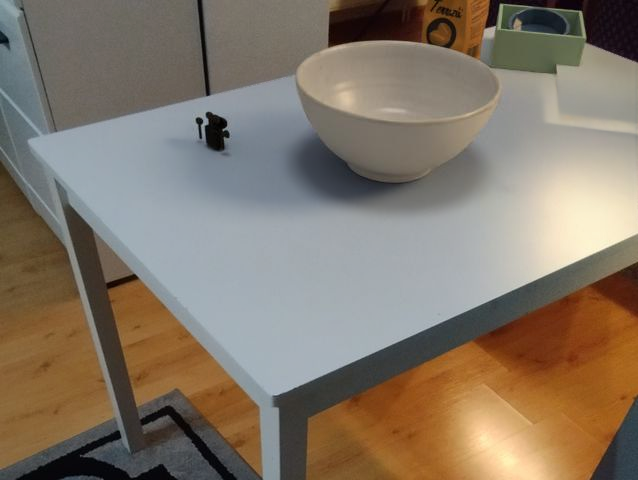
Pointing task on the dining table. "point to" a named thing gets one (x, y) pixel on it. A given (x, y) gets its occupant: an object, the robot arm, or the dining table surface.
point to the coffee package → (456, 25)
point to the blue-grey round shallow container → (539, 21)
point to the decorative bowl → (396, 105)
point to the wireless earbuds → (214, 130)
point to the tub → (537, 44)
